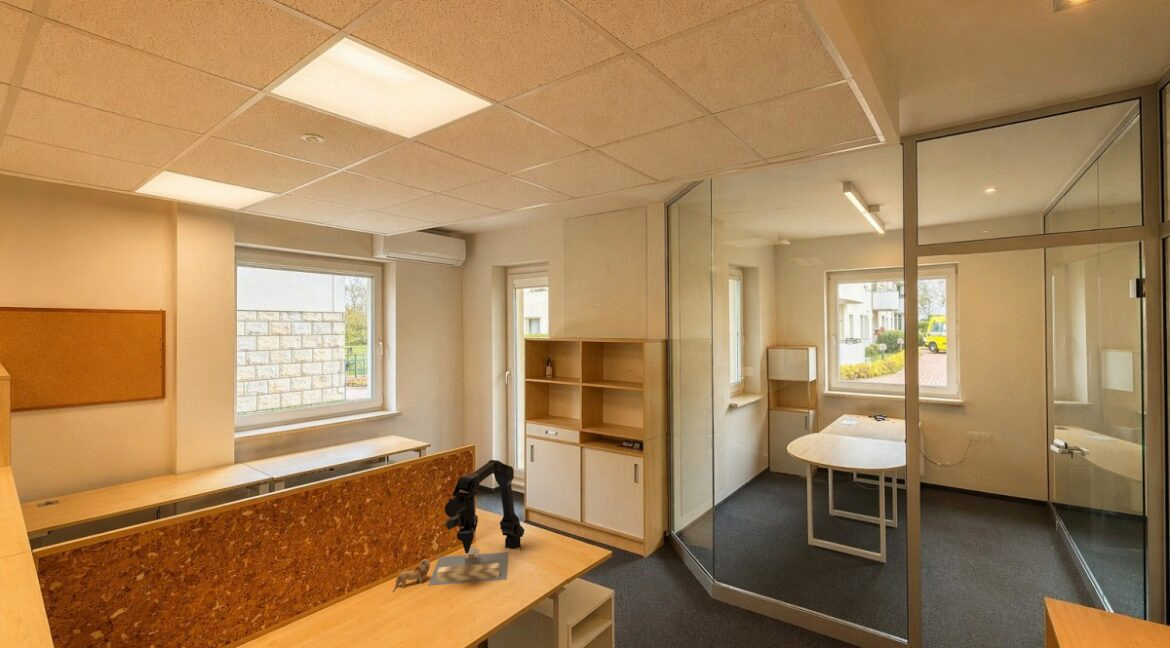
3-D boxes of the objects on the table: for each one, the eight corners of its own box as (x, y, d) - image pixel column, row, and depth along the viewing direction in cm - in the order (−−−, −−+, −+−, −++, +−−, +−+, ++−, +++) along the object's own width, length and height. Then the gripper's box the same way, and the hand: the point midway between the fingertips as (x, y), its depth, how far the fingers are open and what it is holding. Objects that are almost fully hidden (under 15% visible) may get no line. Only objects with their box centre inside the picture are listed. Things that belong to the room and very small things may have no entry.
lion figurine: (427, 578, 201) (426, 555, 201) (432, 583, 197) (432, 560, 197) (390, 591, 191) (390, 567, 192) (395, 596, 187) (394, 572, 188)
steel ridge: (479, 558, 216) (478, 545, 216) (477, 566, 208) (477, 554, 208) (467, 558, 215) (467, 546, 215) (465, 567, 207) (464, 554, 207)
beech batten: (499, 572, 202) (499, 562, 202) (499, 577, 198) (498, 567, 198) (438, 577, 199) (438, 567, 199) (436, 582, 195) (436, 572, 195)
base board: (508, 554, 221) (508, 552, 221) (506, 582, 196) (506, 579, 196) (439, 559, 217) (439, 556, 217) (428, 588, 193) (428, 585, 193)
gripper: (450, 502, 207) (451, 539, 207) (443, 518, 189) (443, 560, 188) (477, 500, 209) (478, 538, 208) (473, 516, 190) (473, 557, 190)
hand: (468, 548), depth 199 cm, fingers open, 9 cm apart
